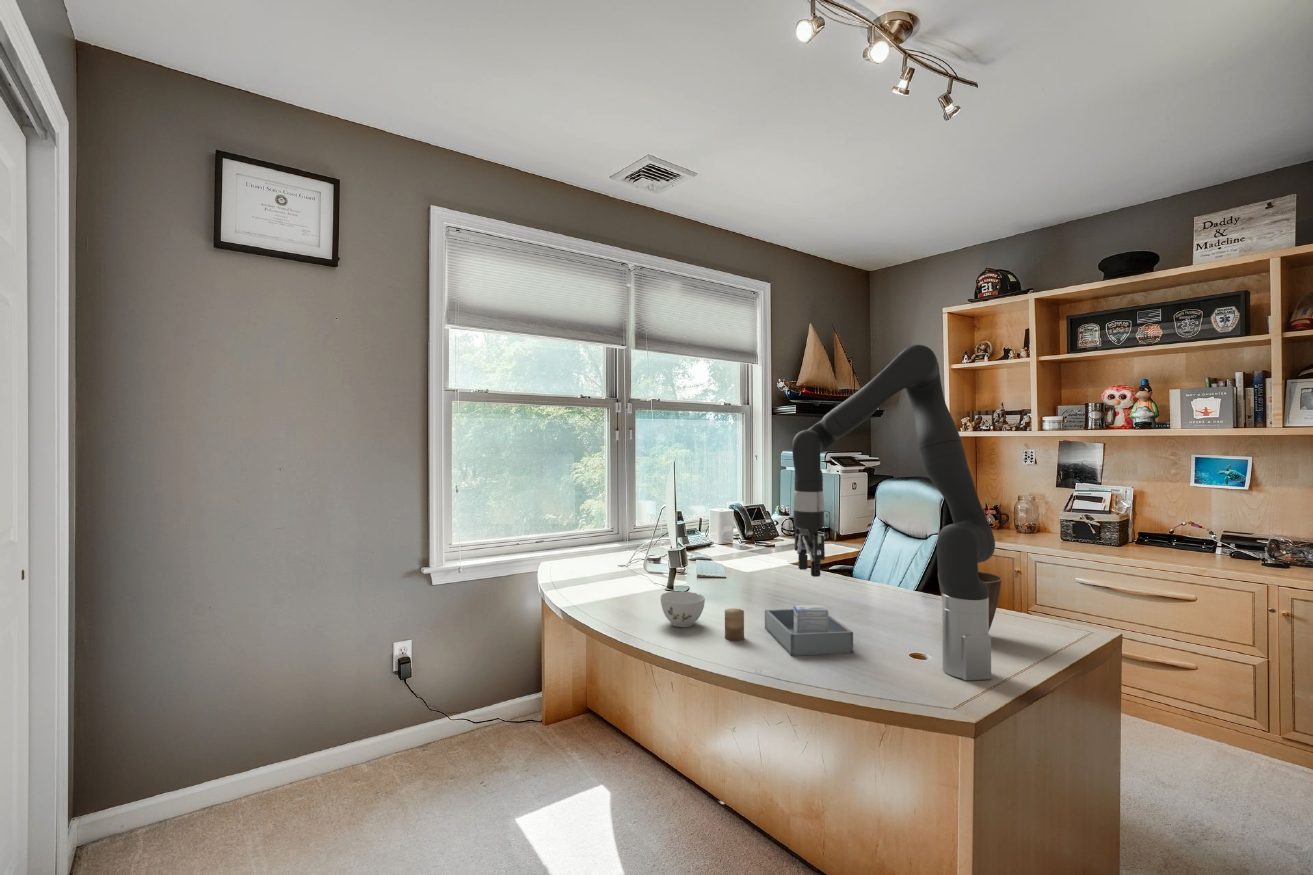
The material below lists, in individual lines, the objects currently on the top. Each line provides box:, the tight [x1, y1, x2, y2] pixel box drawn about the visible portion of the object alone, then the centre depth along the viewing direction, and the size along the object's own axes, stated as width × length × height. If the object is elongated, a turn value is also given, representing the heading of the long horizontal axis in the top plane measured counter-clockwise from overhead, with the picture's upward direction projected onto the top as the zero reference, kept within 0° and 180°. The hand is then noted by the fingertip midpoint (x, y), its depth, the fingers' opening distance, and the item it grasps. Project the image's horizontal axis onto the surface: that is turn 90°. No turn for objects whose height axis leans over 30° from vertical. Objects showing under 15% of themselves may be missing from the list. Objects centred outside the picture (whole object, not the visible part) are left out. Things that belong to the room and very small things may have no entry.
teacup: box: [659, 590, 706, 628], centre depth 175 cm, size 15×12×8 cm
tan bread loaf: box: [724, 607, 745, 642], centre depth 162 cm, size 5×5×7 cm
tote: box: [764, 608, 854, 657], centre depth 160 cm, size 22×16×5 cm
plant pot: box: [937, 571, 1003, 631], centre depth 162 cm, size 15×15×16 cm
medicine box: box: [793, 604, 829, 634], centre depth 157 cm, size 8×4×9 cm, turn 89°
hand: (809, 572), depth 157 cm, fingers open, 8 cm apart
